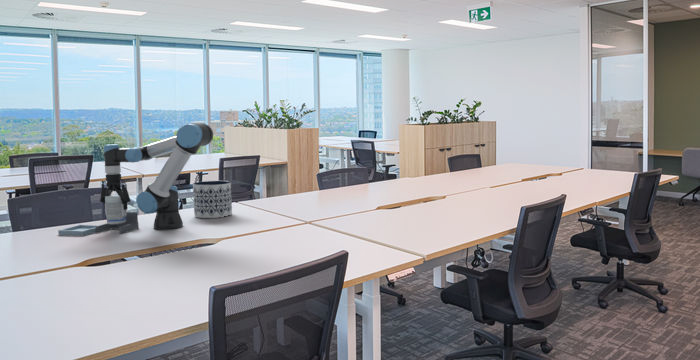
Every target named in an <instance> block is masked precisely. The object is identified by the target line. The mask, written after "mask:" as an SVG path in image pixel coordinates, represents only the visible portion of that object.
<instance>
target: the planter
mask: <svg viewBox="0 0 700 360" xmlns="http://www.w3.org/2000/svg"><path fill="white" fill-rule="evenodd" d="M192 191H193V193H192V195H193V212H194V217H196V218H197V217H198V219H205V218H211V219H220V218H219V217H222V218H225V217H224V216H227V217H229V216H228V215H230V216H232V214H233V206H232V203H233V202H232V200H233V199H232V183H231V181H229V180H205V181H196V182H193V183H192Z"/></svg>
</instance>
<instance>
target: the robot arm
mask: <svg viewBox="0 0 700 360" xmlns="http://www.w3.org/2000/svg"><path fill="white" fill-rule="evenodd" d="M213 139H214V131H213V129H212V127H210V125H208V124H206V123H193V122H192V123H186V124H183V125H181V126H180V127H179V128H178V129H177V131H176V135H175V136H172V137H169V138H166V139H163V140H160V141H156V142H151V143H149V144H146V145H142V146H136V147H135V146H134V147H120V145H119V144H117V143H116V144H115V143H113V144H104V145H103V156H104V158H103V159H104V173H105V181H106V183H102V184H101V191H100V197H99V198H100V199H99V202H100V203H103V209H104V212H105V215H106V204H105V197H106V196H111V195H112V193H113V192H115V193H117V195H119V196H120V198H121V201H122V204H121V206H122V216H126V215H127V212H128V211H127V210H128V203H130V202H131V199H130V195H129V191H128V186H127V183H122V174H121V172H122V171H121V170H122V169H121V163H132V164H133V163H139V162H141V161H142V162H143V161H150V160H153V159H155V158H157V157H160V156H164V155H167V154H170V153H171V154H170V155H169V157H168V158H167V161H166V162H165V163H164V165H163V167H162V168H161V170H160V172H159V173H158V174H157V177H156V178H155V179H154V181H153V182H150V183H149V184H148V185H147V187H146V188H145V190H143V191H141V192H140V193H138V194H137V196H136V200H135V201H136V205H137V208H138V210H139V211H140V212H142V213H144V214H148V215H150V214H154V213H155V214H156V215H155V218H154V223H153V229H154V230H161V231H162V230H163V231H164V230H173V229H180V228H183V226H184V225H183V223H184V222H183V220H182V218H181V214H180V211H179V206H180V205H179V191H178V186H176V185H174V184H175V182H176V180H177V179H178V177H179V175H181V172H182V170H183V169H184V167H185V166H186V164H187V163H188V162H189V159H190V158H191V156H193V155H196V154H197V153H198V151H199V150H200V148H201V147H205V146H208V145H209V144H210V143H212V141H213Z"/></svg>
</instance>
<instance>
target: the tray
mask: <svg viewBox="0 0 700 360" xmlns="http://www.w3.org/2000/svg"><path fill="white" fill-rule="evenodd" d="M98 225H99V224H97V225H96V224H95V225H94V224H77V225H72V226H70V227H69V226H68V227H65V228H61V229H59V230H57V231H58V235H59V236H69V235H72V236H74V237H85V236H88V234H89V235H92V234H95V233H96V226H98Z"/></svg>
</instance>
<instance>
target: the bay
mask: <svg viewBox="0 0 700 360" xmlns="http://www.w3.org/2000/svg"><path fill="white" fill-rule="evenodd" d="M138 219H139V217H138V211H127V215H126V222H125V223H121V224H108V223H107V222H106V223H102V224H97V225H98V226H96V232H95V233H97V234H98V233H102V232H106V231H110V230H112V229H118V232H119V233H118V234H120V235H123V234H125V233H128V232H132V231H134V230H138V229H139V220H138Z"/></svg>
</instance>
